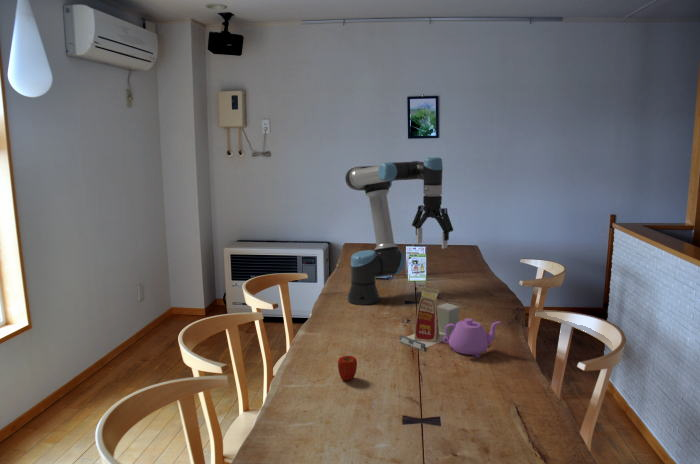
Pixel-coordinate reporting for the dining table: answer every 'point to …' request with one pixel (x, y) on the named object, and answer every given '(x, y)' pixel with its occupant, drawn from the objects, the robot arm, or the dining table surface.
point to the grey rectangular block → (447, 316)
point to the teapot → (469, 337)
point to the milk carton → (427, 317)
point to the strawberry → (347, 367)
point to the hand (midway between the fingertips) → (431, 245)
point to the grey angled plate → (419, 344)
